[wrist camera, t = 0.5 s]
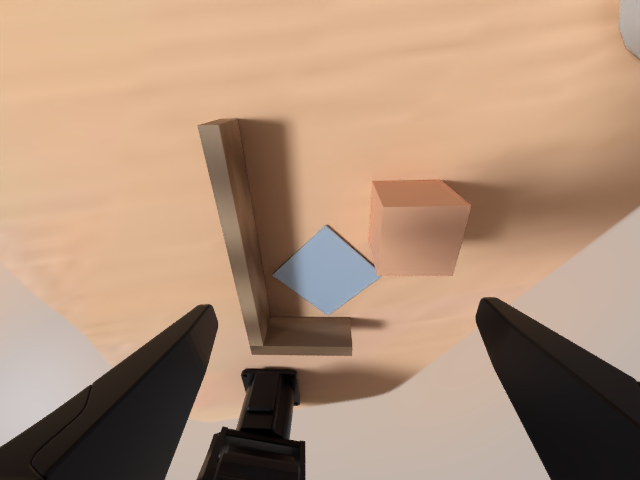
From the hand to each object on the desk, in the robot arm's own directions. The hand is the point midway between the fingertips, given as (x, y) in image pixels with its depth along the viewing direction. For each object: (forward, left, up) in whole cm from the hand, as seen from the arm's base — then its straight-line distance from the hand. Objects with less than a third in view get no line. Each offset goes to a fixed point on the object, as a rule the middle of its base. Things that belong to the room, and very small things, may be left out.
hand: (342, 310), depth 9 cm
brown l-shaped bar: (-5, +4, -13) cm, 14 cm away
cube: (-2, -5, -13) cm, 14 cm away
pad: (-8, +1, -13) cm, 15 cm away
